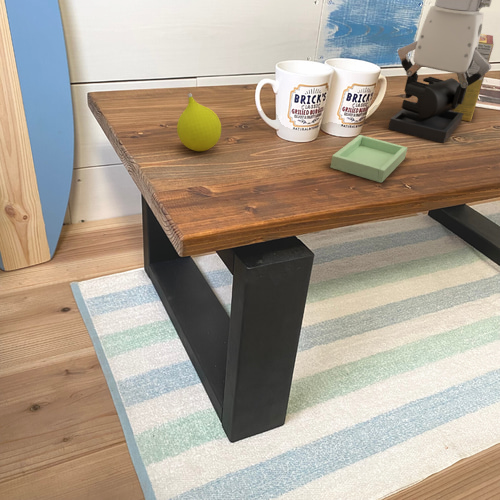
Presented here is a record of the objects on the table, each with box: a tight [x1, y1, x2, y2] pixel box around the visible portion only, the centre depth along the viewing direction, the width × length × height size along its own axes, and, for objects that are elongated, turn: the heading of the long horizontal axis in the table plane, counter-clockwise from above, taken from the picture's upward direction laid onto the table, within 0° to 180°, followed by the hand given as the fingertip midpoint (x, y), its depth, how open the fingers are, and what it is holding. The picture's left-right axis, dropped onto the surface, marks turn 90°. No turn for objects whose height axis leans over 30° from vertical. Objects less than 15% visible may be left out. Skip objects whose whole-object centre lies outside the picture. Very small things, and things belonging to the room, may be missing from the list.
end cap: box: [401, 76, 460, 122], centre depth 98 cm, size 10×7×7 cm
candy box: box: [452, 33, 495, 122], centre depth 104 cm, size 9×4×15 cm, turn 158°
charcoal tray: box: [387, 101, 463, 144], centre depth 100 cm, size 11×14×2 cm
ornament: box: [176, 92, 222, 152], centre depth 81 cm, size 7×7×10 cm
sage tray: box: [329, 134, 408, 184], centre depth 83 cm, size 9×12×2 cm
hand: (431, 101), depth 98 cm, fingers closed on end cap, 8 cm apart
